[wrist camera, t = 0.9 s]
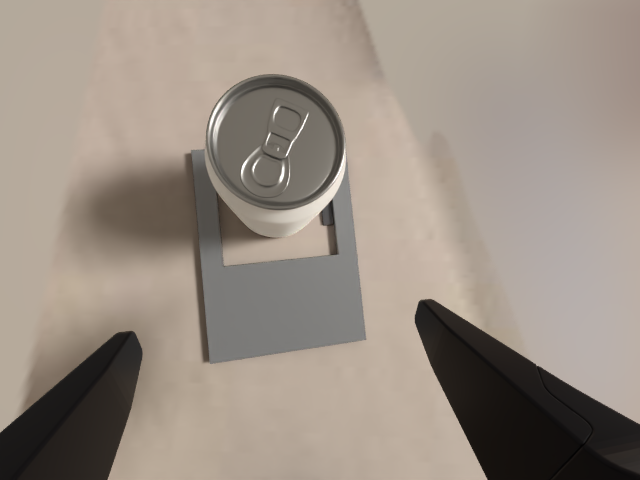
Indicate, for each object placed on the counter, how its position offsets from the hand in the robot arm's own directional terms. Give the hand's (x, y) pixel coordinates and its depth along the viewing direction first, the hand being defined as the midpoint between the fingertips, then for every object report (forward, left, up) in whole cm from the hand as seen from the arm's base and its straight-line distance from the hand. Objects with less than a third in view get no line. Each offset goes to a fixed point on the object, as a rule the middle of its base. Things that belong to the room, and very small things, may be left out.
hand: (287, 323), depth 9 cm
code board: (+3, 0, -14) cm, 14 cm away
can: (+7, 0, -14) cm, 16 cm away
